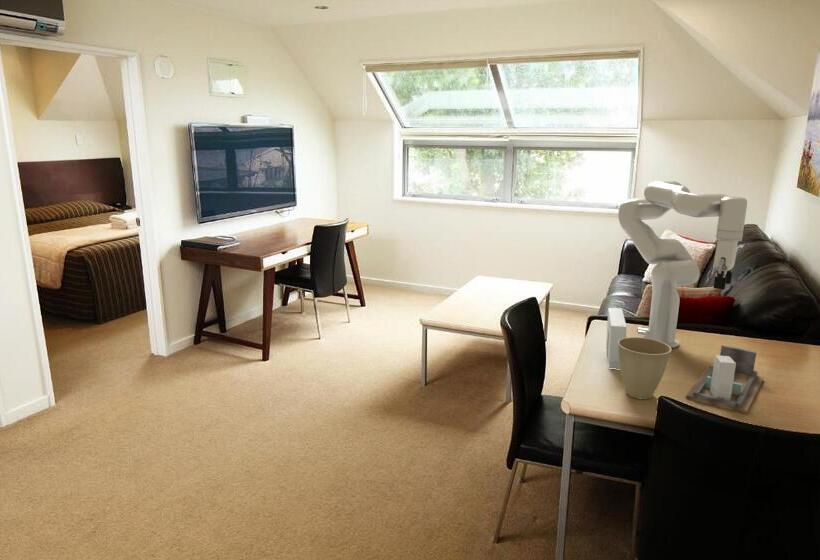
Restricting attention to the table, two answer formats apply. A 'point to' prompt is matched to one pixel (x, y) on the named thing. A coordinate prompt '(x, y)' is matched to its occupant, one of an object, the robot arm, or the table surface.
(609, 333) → the skincare box
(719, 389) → the skincare box
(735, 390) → the pusher
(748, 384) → the tray
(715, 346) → the table surface
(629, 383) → the plant pot
